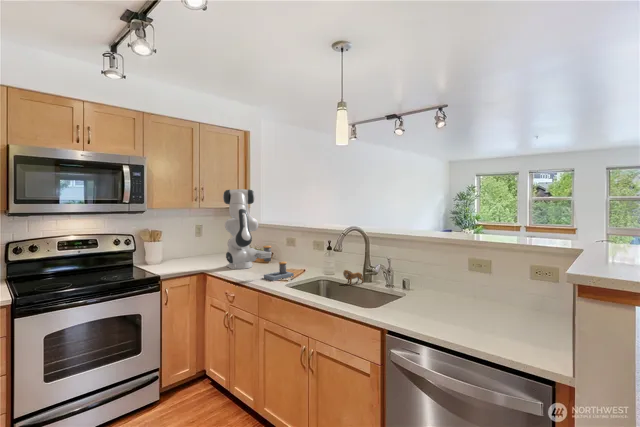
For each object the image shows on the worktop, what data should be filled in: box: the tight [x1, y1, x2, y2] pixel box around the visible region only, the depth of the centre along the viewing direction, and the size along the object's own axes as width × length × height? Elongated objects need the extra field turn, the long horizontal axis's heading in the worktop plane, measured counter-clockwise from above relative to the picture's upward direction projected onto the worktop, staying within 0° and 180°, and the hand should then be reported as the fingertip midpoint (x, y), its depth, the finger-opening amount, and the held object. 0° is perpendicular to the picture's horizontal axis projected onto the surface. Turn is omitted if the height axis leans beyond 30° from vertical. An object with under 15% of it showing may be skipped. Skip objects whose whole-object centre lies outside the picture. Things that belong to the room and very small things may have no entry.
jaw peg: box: [262, 245, 272, 262], centre depth 222 cm, size 6×6×10 cm
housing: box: [263, 270, 295, 282], centre depth 224 cm, size 11×17×2 cm, turn 135°
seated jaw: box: [278, 261, 288, 274], centre depth 227 cm, size 6×6×10 cm
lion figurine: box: [342, 269, 365, 285], centre depth 207 cm, size 15×5×9 cm, turn 112°
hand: (268, 252), depth 223 cm, fingers closed on jaw peg, 5 cm apart
